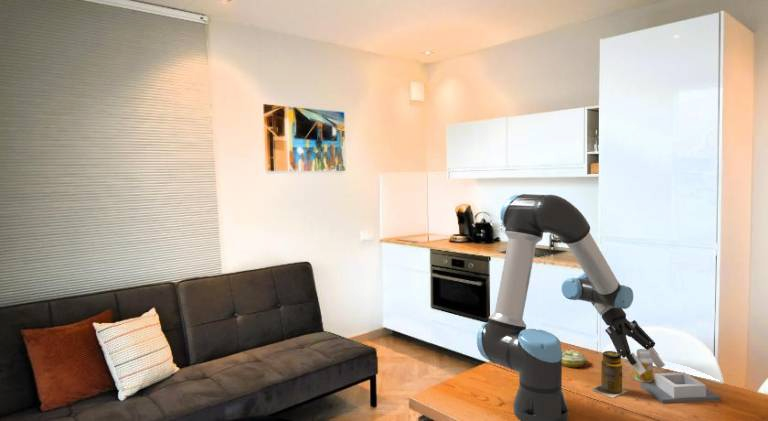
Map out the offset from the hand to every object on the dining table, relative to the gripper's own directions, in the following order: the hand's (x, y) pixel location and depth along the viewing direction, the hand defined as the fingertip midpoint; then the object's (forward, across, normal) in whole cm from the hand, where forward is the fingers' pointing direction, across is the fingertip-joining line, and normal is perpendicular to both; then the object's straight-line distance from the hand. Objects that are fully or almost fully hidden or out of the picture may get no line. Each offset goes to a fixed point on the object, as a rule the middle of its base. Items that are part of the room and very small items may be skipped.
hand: (652, 370), depth 156 cm
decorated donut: (-15, +9, -21) cm, 27 cm away
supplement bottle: (+1, 0, -6) cm, 6 cm away
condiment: (+1, +17, -6) cm, 18 cm away
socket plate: (+9, 0, +3) cm, 10 cm away
